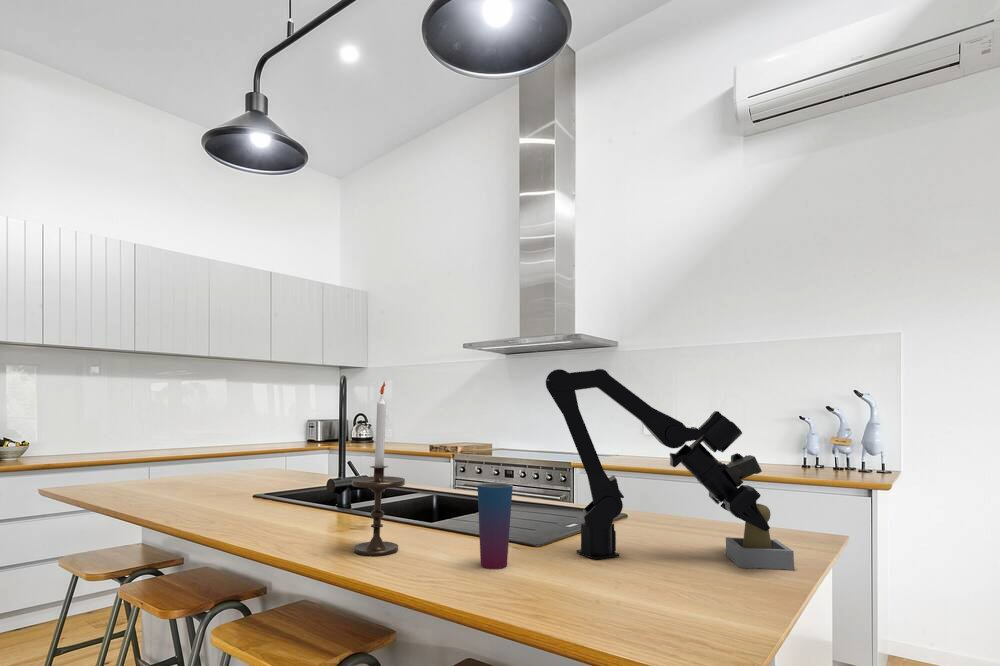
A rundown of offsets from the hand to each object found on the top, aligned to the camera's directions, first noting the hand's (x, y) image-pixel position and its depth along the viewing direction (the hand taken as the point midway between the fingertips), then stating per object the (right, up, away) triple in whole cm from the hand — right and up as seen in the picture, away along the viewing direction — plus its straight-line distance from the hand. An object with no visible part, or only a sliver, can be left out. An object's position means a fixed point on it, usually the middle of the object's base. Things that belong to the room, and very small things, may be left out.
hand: (763, 526), depth 119 cm
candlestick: (-78, -6, +4) cm, 79 cm away
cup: (-54, -6, -6) cm, 55 cm away
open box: (-1, -7, -1) cm, 7 cm away
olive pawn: (-1, -7, -1) cm, 7 cm away
